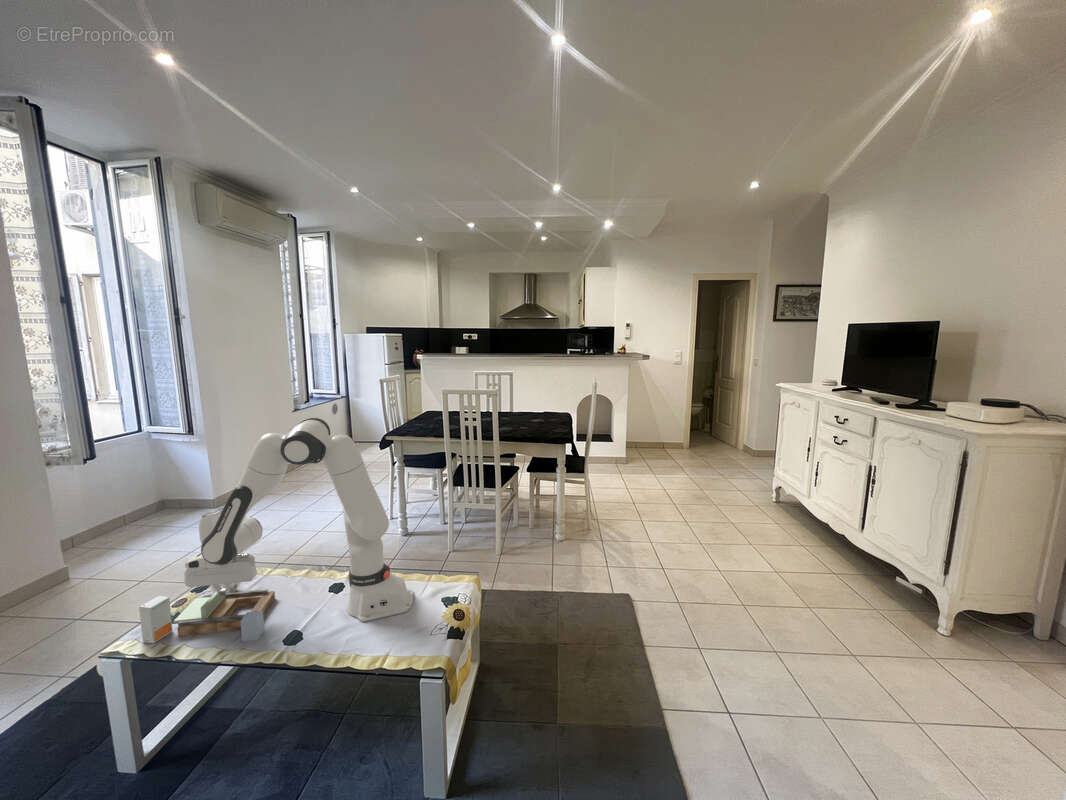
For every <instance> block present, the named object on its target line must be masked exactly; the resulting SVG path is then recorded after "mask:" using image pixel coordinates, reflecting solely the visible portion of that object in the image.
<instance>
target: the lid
mask: <svg viewBox="0 0 1066 800" xmlns="http://www.w3.org/2000/svg"><path fill="white" fill-rule="evenodd" d="M222 588H224V586H222ZM212 594H213V595H212ZM212 594H211V595H212V596H211V597H205V598H203V597H197V598H194V599H193V600H192V601H191V602H190V603H189V605H187V607H186V608H185V609H184V610H183V611H182V612H180V614H179V615H178V616H177V617H176V618H175V619H173V623H174V624H178V623H179V622H180V621H186V620H195V619H205V618H208V617H209V616H210V615H211V613H212V612H213V611H214V610H215V609H216V608H217V606H218V605H219V604H220V603H221V602H222V601H223V599H224V598H225V595H222V596H218V593H217V591H216V592H215V593H212Z"/></svg>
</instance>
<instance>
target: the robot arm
mask: <svg viewBox="0 0 1066 800" xmlns="http://www.w3.org/2000/svg"><path fill="white" fill-rule="evenodd" d="M321 461H322V462H323V463H324V465H325V467H326V470H327V473H328V475H329V477H330V480H331V483H332V486H333V487H334V490H335V492H336V494H337V497H338V500H340V502H341V505H342V514H343V520H344V527H345V535H346V539H347V540H346V541H347V544H348V553H349V571H348V585H349V588H350V589H349V597H348V603H347V607H346V612H347V613H348V615H350V616H352V617H355V618H357V619H358V621H360V622H368V621H373V620H377V619H381V618H386V617H390V616H394V615H399V614H404V613H406V612H408V611H409V610H410V609H411V607H412V605H413V603H414V592H413V590H412V588H410V587H407V585H406V581H405V580H404V579H403V578H402V577H400V576H398V575H396V574H393V573H392V572H391V569H390V568H391V567H390V563H387V564H386V563H385V561H384V544H383V540H382V537H384V535H385V534H387V532H388V530H389V527H390V521H389V518H388V515H387V513H386V510H385V508H384V505H383V503H382V501H381V498H380V496H379V495H378V493H377V491H376V489H375V487H374V485H373V482H372V480H371V478H370V476H369V475H370V474H369V472H368V471H367V468H366V467H367V466H366V465H365V462H364V459H363V457H362V455H361V453H360V450H359V448H358V446H357V444H355V441H354V440H353V438H352V437H350V436H349V435H346V434H336V435H331V427H330V426H329V424H328V422H327V421H325V420H324V419H321V418H318V417H311V418H310V417H309V418H306V419H304V420H301V421H300V422H299V423H297V424H296V425H295V426H294V427H292V428H291V429H290V430H289V432H288V433H286V434H283V433H280V432H269V433H265V434H264V435H262V436H261V437H260V438H259V439H258V440H257V442H256V443H255V445H254V447H253V449H252V450H251V453H250V455H249V457H248V460H247V462H246V465H245V468H244V469H243V472H242V474H241V476H240V478H239V480H238V482H237V484H236V485H235V487H234V489H233V490H232V492H231V494H230V495H229V497H228V498H227V501H226V503H225V504H224V506H223V507H220V508H215V509H212V510H210V511H208V512H206V513H204V514H202V516H201V517H200V518H199V523H198V531H199V532H198V534H199V541H200V543H201V546H200V552H198V553H195V554H194V555H193V556H192V557H191V558H189V559H188V560H187V561H186V562H185V563H184V567H185V568H186V569H185V571H184V584H185V586H186V587H188V588H195V587H197V588H198V587H206V586H211V585H213V588H214V589H215V590H216V591H217V593H218V596H222V595H228V594H229V593H230V587H231V585H232V583H238V582H240V583H245V582H246V583H247V582H252V581H253V579H255V577H256V576H257V575H258V571H257V565H256V561H255V560H256V557H255V556H254V555H252V554H250V553H243V552H244V551H246V550H247V549H249V548H251V547H252V546H253V545H254V544H256V543H257V542H258V541H259V540H260V539H261V538H262V536H263V525H262V524H261V523H260V521H259V520H258V519H257V518H255V517H251V516H247V514H248V513H249V511H250V510H251V509H252V508H253V507H254V506H255V505H256V504H257V503H259V502H260V501H262V500H263V499H264V498H266V497H267V496H268V495H270V494H271V493H272V492H274V491H275V490H276V489H277V488H278V487H279V485H280V483H281V482H282V480H283V478H284V477H285V474H286V472H287V469H288V466H289V464H292V465H297V466H298V465H299V466H301V465H307V464H318V463H320V462H321ZM242 553H243V554H242ZM219 584H225V586H227V587H226V588H222V587H221V586H220V585H219Z"/></svg>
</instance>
